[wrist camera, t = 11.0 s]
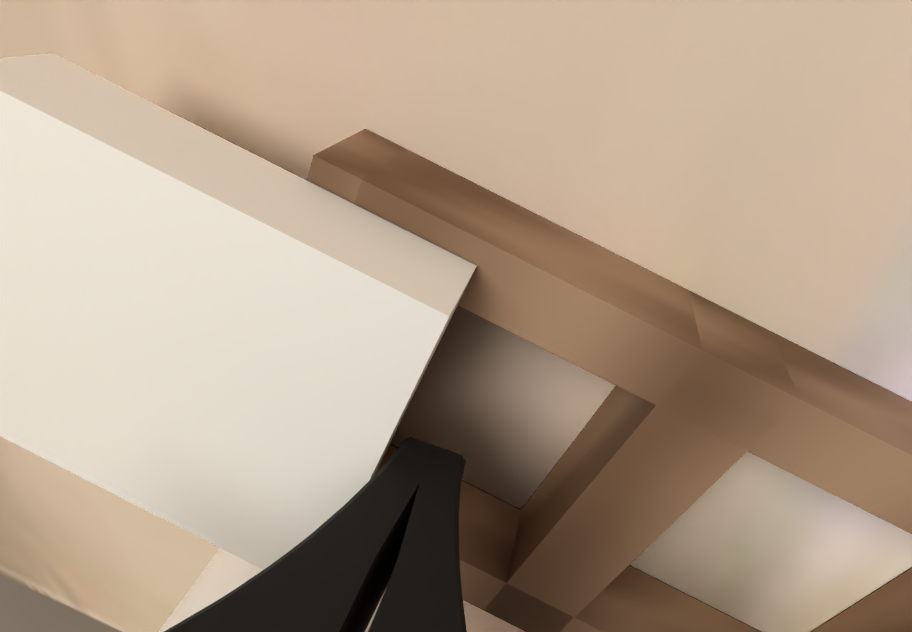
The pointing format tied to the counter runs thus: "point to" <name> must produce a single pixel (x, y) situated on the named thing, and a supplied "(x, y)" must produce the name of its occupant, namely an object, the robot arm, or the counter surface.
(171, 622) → the cup
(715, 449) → the wooden grid frame
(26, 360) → the cover
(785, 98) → the counter surface
